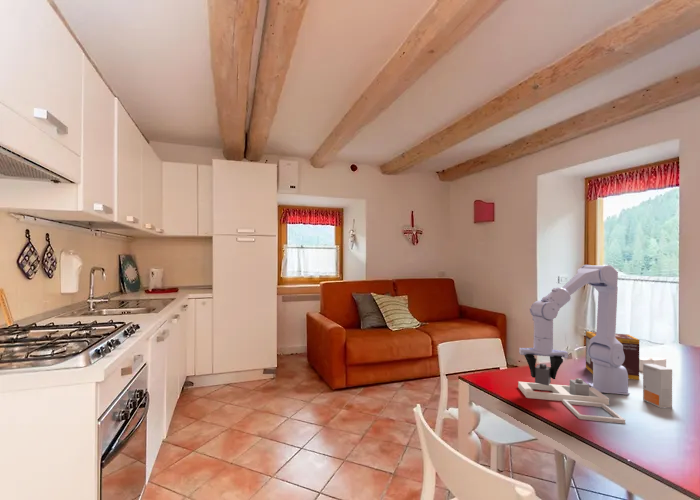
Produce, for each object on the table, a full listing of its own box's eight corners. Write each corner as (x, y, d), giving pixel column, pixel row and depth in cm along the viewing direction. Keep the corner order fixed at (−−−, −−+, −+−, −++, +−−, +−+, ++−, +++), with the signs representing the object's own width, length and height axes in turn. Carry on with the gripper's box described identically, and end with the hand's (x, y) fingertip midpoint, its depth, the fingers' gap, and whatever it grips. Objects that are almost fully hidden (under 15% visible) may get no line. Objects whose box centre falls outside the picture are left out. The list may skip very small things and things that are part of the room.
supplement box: (640, 380, 133) (640, 339, 133) (592, 375, 138) (593, 335, 139) (629, 372, 143) (629, 334, 143) (585, 367, 148) (585, 330, 148)
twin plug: (582, 395, 117) (582, 377, 117) (589, 400, 112) (589, 382, 112) (569, 394, 117) (569, 376, 118) (575, 399, 113) (575, 380, 113)
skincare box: (642, 400, 113) (642, 363, 114) (654, 400, 114) (654, 363, 114) (660, 408, 107) (660, 369, 108) (673, 408, 108) (672, 369, 108)
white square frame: (603, 406, 108) (603, 403, 108) (625, 423, 97) (625, 419, 97) (562, 402, 110) (562, 399, 110) (579, 418, 99) (579, 415, 99)
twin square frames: (593, 393, 118) (593, 387, 118) (608, 405, 109) (608, 398, 109) (518, 387, 123) (518, 381, 123) (526, 397, 113) (526, 391, 114)
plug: (550, 382, 117) (550, 364, 118) (548, 385, 114) (548, 367, 114) (537, 379, 120) (537, 361, 120) (535, 382, 117) (535, 364, 117)
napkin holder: (666, 370, 148) (666, 356, 148) (678, 378, 138) (678, 363, 138) (623, 365, 154) (623, 352, 154) (632, 372, 144) (632, 358, 144)
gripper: (561, 335, 120) (561, 375, 120) (516, 333, 123) (516, 371, 122) (570, 340, 113) (570, 382, 113) (522, 337, 116) (522, 378, 115)
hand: (542, 377), depth 117 cm, fingers closed on plug, 5 cm apart
